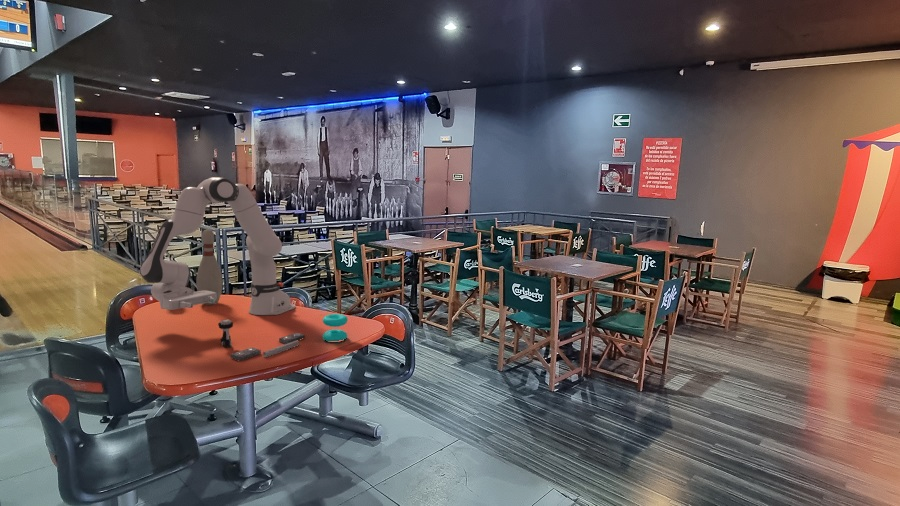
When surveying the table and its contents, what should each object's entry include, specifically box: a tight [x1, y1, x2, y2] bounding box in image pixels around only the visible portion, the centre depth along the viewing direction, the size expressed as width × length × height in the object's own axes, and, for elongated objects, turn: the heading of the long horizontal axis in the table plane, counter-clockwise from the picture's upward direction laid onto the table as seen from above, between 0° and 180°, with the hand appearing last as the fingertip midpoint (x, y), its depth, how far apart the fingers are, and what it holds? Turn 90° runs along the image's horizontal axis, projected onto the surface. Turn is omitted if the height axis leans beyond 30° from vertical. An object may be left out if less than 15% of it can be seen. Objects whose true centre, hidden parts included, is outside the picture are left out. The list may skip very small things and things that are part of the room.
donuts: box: [322, 313, 349, 342], centre depth 199 cm, size 10×10×10 cm
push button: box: [217, 319, 234, 348], centre depth 187 cm, size 7×5×10 cm
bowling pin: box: [195, 228, 223, 306], centre depth 241 cm, size 11×12×38 cm
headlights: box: [230, 332, 306, 362], centre depth 186 cm, size 31×9×2 cm, turn 150°
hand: (202, 303), depth 191 cm, fingers open, 8 cm apart
